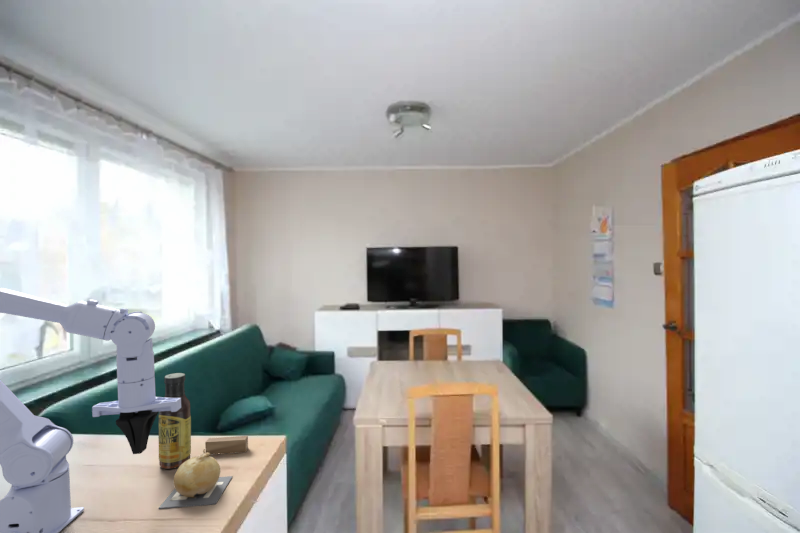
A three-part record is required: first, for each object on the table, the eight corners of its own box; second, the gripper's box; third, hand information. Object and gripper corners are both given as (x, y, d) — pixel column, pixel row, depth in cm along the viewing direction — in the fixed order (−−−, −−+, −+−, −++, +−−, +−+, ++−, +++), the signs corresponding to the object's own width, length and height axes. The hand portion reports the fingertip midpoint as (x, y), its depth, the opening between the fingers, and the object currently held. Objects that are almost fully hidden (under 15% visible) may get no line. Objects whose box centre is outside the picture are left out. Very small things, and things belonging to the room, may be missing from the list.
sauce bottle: (152, 469, 84) (148, 378, 84) (175, 455, 90) (171, 370, 90) (177, 472, 83) (173, 380, 82) (198, 457, 89) (195, 371, 88)
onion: (208, 503, 71) (206, 465, 71) (165, 504, 71) (163, 466, 71) (227, 478, 79) (226, 444, 79) (188, 479, 79) (187, 445, 79)
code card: (215, 504, 71) (215, 502, 71) (158, 508, 70) (158, 507, 70) (232, 477, 80) (232, 475, 80) (182, 480, 79) (182, 479, 79)
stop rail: (245, 452, 91) (245, 439, 90) (205, 455, 90) (205, 442, 90) (248, 448, 93) (247, 435, 92) (209, 450, 92) (208, 438, 92)
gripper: (187, 370, 76) (190, 438, 76) (108, 374, 75) (112, 444, 75) (169, 381, 69) (172, 456, 69) (82, 386, 68) (86, 463, 68)
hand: (139, 451), depth 72 cm, fingers closed
